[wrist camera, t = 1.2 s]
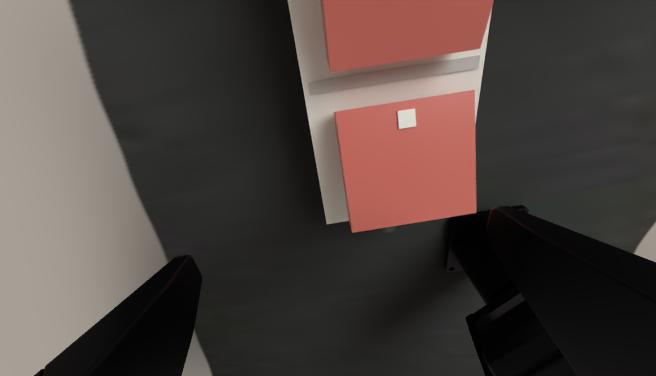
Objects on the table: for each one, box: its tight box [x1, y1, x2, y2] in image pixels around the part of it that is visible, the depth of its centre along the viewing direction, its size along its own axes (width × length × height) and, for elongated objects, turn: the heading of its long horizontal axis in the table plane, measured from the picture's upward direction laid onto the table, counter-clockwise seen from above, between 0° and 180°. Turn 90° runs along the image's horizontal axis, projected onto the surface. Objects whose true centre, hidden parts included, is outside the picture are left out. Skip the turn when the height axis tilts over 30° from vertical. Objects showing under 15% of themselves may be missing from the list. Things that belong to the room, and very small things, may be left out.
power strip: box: [288, 0, 492, 233], centre depth 14 cm, size 28×9×4 cm, turn 8°
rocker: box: [333, 90, 476, 233], centre depth 14 cm, size 6×6×2 cm
